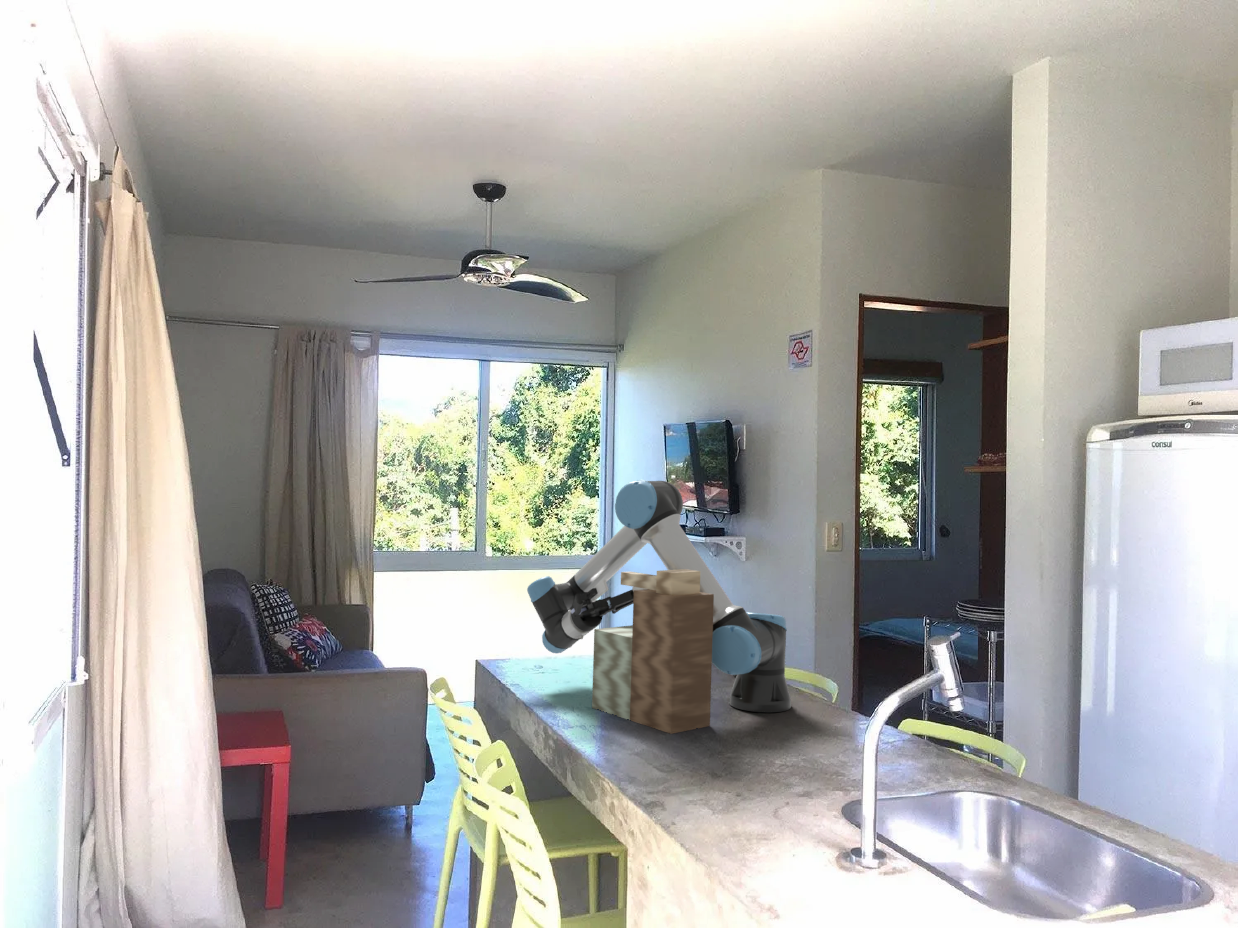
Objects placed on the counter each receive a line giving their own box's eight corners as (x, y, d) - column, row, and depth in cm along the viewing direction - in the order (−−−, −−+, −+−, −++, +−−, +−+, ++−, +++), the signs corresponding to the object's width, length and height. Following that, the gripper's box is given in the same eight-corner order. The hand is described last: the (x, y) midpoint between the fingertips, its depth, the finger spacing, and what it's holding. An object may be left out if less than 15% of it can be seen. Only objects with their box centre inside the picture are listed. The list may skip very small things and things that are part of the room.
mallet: (611, 585, 240) (611, 564, 240) (639, 583, 245) (639, 562, 245) (671, 595, 223) (671, 572, 223) (699, 593, 229) (700, 571, 229)
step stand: (591, 707, 241) (595, 583, 242) (629, 701, 249) (633, 581, 249) (671, 733, 220) (675, 597, 220) (709, 725, 228) (713, 594, 228)
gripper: (625, 628, 262) (671, 593, 248) (546, 636, 247) (591, 600, 232) (616, 601, 265) (662, 566, 251) (537, 608, 250) (581, 571, 235)
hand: (628, 582), depth 242 cm, fingers open, 13 cm apart
